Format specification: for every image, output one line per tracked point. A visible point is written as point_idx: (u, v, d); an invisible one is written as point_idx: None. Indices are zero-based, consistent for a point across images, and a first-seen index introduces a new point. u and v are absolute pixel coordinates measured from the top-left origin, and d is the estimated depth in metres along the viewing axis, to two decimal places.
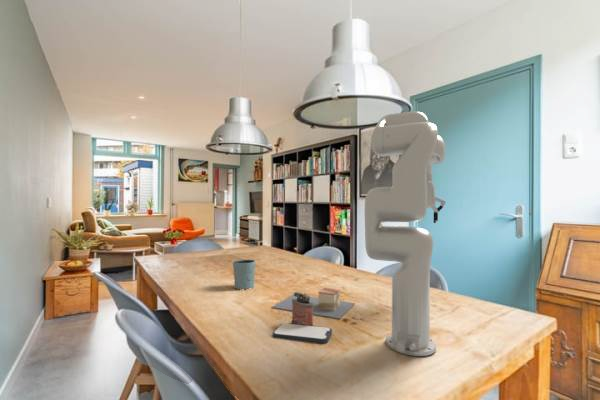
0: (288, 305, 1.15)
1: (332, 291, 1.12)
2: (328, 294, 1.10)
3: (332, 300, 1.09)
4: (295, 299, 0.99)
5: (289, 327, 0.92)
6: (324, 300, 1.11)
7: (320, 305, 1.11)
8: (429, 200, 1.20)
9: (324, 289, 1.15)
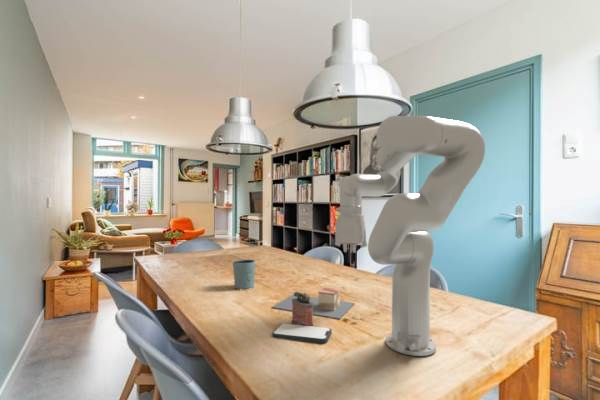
0: (288, 305, 1.15)
1: (332, 291, 1.12)
2: (328, 294, 1.10)
3: (332, 300, 1.09)
4: (295, 299, 0.99)
5: (289, 327, 0.92)
6: (324, 300, 1.11)
7: (320, 305, 1.11)
8: (357, 236, 1.06)
9: (324, 289, 1.15)
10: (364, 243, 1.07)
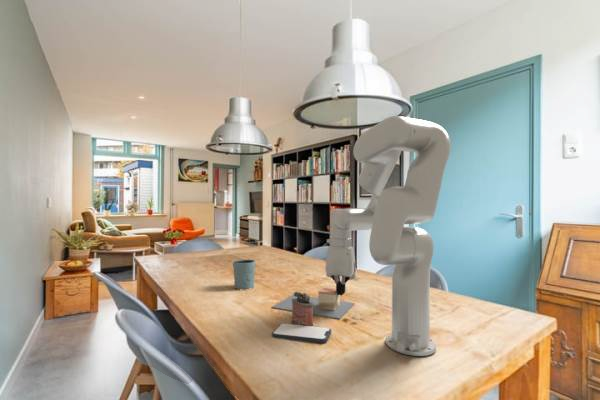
0: (288, 305, 1.15)
1: (332, 291, 1.12)
2: (328, 294, 1.10)
3: (332, 299, 1.09)
4: (295, 299, 0.99)
5: (288, 327, 0.92)
6: (324, 300, 1.11)
7: (320, 305, 1.11)
8: (346, 268, 1.08)
9: (324, 289, 1.15)
10: (354, 275, 1.09)
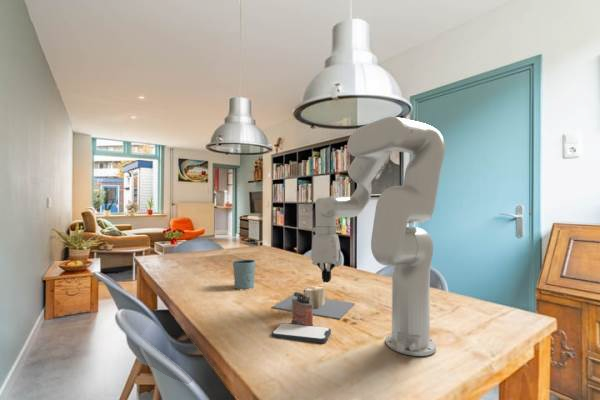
0: (288, 305, 1.15)
1: None
2: None
3: (309, 292, 1.13)
4: (295, 299, 0.99)
5: (288, 327, 0.92)
6: (310, 300, 1.13)
7: (315, 305, 1.12)
8: (331, 255, 1.10)
9: None
10: (339, 262, 1.11)
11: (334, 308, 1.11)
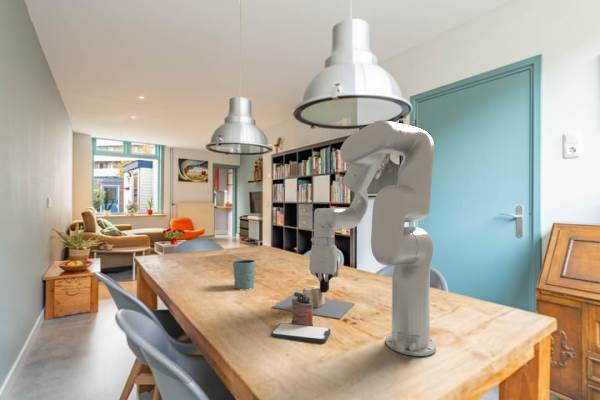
0: (288, 305, 1.15)
1: None
2: None
3: (308, 291, 1.13)
4: (295, 299, 0.99)
5: (288, 327, 0.93)
6: (310, 300, 1.13)
7: (315, 305, 1.12)
8: (329, 266, 1.10)
9: None
10: (336, 273, 1.11)
11: (334, 308, 1.11)
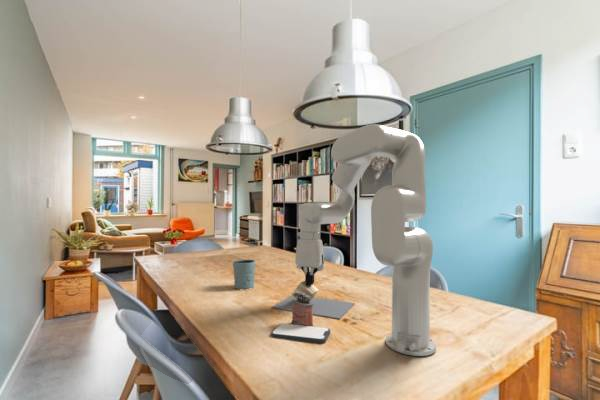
0: (288, 305, 1.15)
1: None
2: (296, 297, 1.15)
3: (296, 291, 1.16)
4: (295, 299, 0.98)
5: (287, 327, 0.93)
6: None
7: (309, 294, 1.13)
8: (314, 260, 1.13)
9: None
10: (321, 267, 1.14)
11: (334, 308, 1.11)
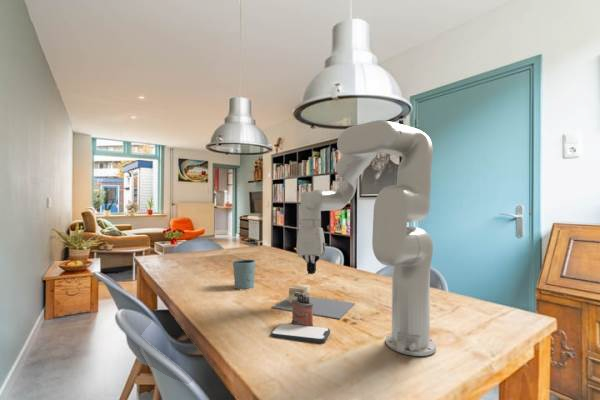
0: (288, 305, 1.15)
1: None
2: None
3: (290, 297, 1.17)
4: (295, 299, 0.98)
5: (287, 327, 0.93)
6: None
7: (301, 292, 1.15)
8: (315, 247, 1.13)
9: None
10: (323, 254, 1.14)
11: (334, 308, 1.11)
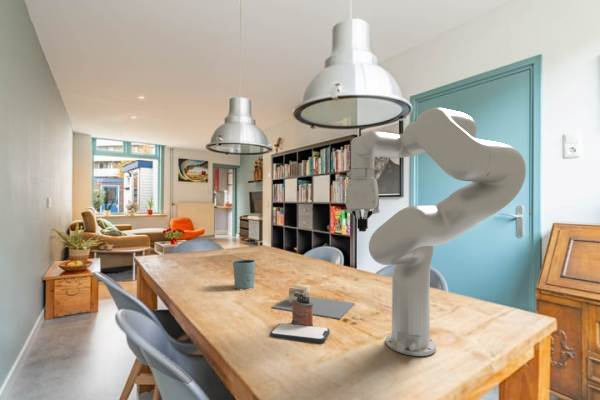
0: (288, 305, 1.15)
1: None
2: None
3: (290, 297, 1.17)
4: (295, 299, 0.98)
5: (287, 327, 0.93)
6: None
7: (301, 292, 1.15)
8: (370, 200, 0.98)
9: None
10: (377, 209, 0.99)
11: (334, 308, 1.11)
